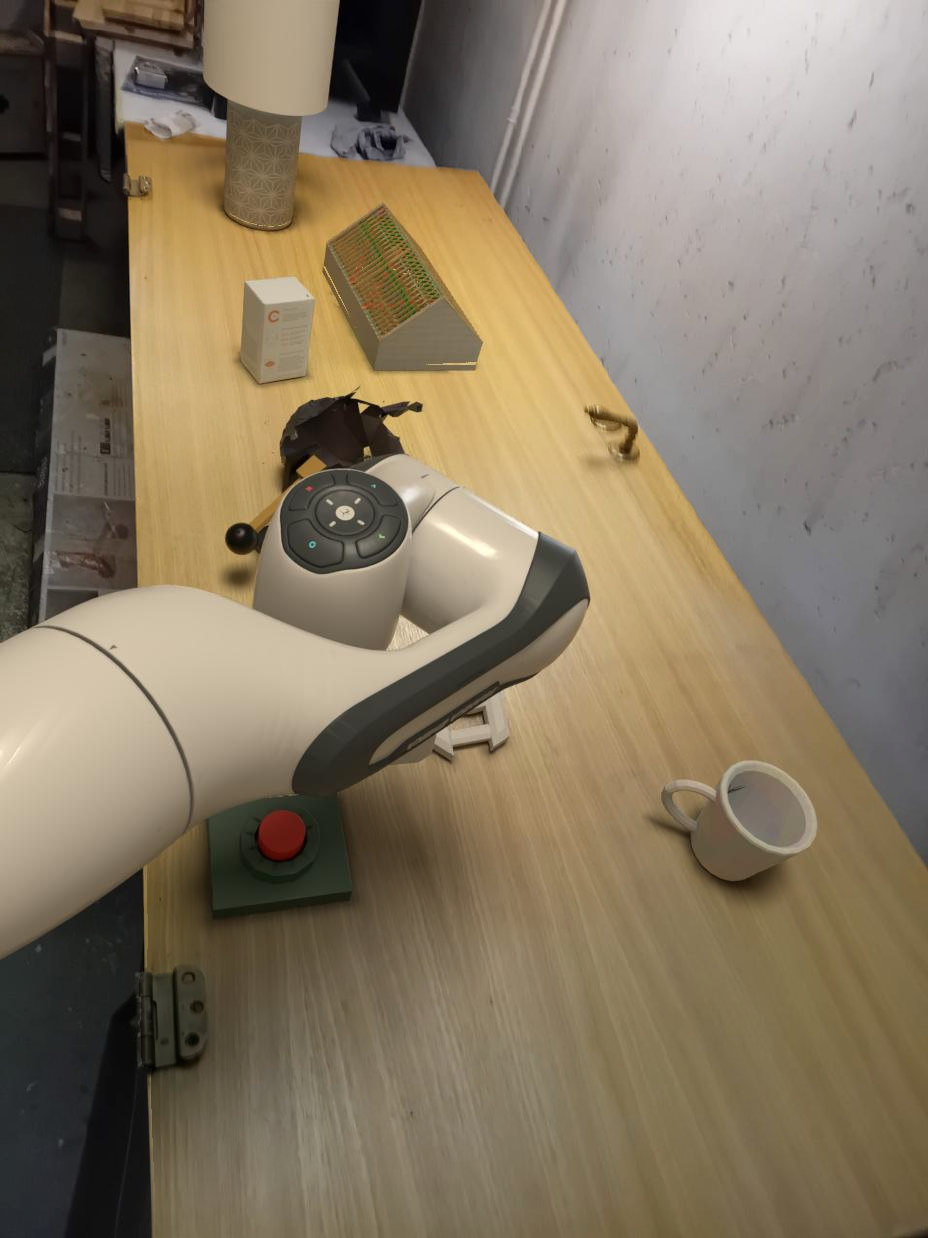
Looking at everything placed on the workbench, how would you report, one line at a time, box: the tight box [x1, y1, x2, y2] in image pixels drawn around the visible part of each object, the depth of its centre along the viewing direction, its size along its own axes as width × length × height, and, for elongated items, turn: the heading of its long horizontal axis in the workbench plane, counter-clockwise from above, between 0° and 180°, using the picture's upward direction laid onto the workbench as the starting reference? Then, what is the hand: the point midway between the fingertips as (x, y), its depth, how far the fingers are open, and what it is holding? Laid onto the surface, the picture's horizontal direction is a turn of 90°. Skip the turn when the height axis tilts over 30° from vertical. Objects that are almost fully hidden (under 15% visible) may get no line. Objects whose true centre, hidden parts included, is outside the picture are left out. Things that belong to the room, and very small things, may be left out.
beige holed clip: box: [433, 689, 511, 761], centre depth 92 cm, size 18×4×10 cm
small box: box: [240, 275, 316, 385], centre depth 120 cm, size 8×6×13 cm
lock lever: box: [224, 455, 327, 556], centre depth 92 cm, size 14×4×4 cm, turn 138°
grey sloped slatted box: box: [322, 201, 484, 371], centre depth 138 cm, size 30×19×13 cm, turn 22°
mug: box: [660, 759, 819, 882], centre depth 85 cm, size 10×15×10 cm
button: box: [258, 810, 305, 861], centre depth 72 cm, size 4×4×2 cm
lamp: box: [202, 0, 340, 232], centre depth 140 cm, size 21×21×42 cm
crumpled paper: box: [262, 384, 424, 469], centre depth 106 cm, size 14×15×20 cm
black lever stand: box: [254, 443, 345, 554], centre depth 97 cm, size 10×9×14 cm
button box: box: [206, 793, 354, 920], centre depth 74 cm, size 12×10×4 cm
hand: (292, 784), depth 66 cm, fingers closed
